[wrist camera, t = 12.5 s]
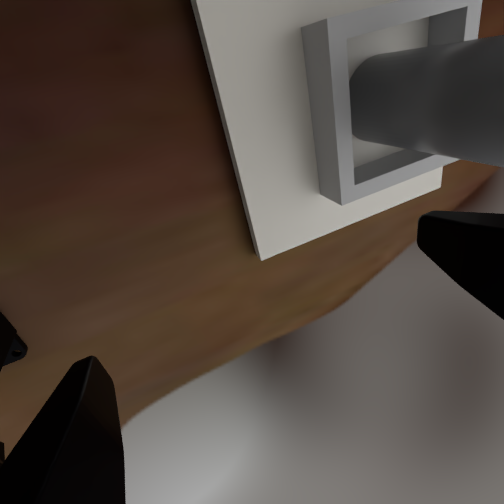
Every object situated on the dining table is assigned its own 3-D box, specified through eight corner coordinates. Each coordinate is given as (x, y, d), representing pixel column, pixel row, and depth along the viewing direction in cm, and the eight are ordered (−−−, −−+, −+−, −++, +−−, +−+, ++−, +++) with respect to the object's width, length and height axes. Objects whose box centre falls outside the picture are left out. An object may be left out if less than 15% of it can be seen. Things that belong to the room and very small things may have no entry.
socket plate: (256, 254, 23) (275, 278, 20) (183, -26, 15) (200, -55, 12) (430, 184, 26) (469, 195, 23) (450, -79, 18) (514, -112, 15)
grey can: (331, 134, 20) (587, 182, 9) (358, 39, 18) (721, -43, 7) (391, 149, 22) (656, 202, 11) (421, 65, 20) (775, 32, 9)
